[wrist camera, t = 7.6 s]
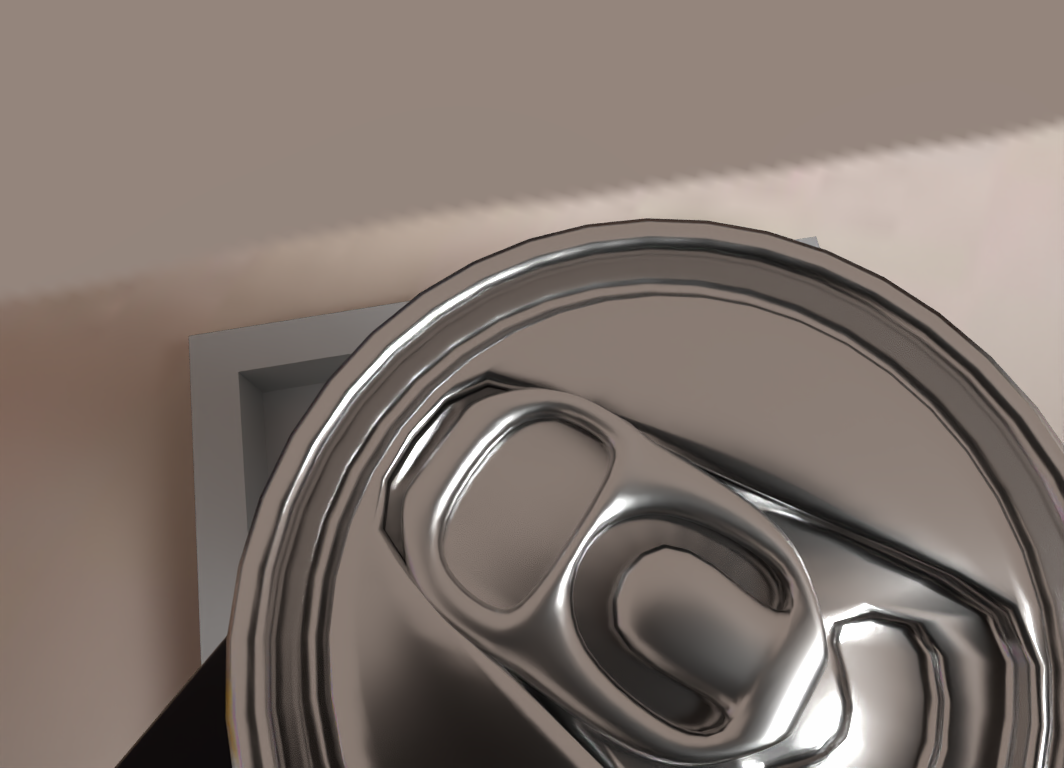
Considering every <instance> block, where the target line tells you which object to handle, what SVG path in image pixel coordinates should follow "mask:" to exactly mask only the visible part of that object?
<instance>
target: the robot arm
mask: <svg viewBox="0 0 1064 768" xmlns="http://www.w3.org/2000/svg"><path fill="white" fill-rule="evenodd" d="M226 639H227V636H226V637H225V638H224V639H223V640H222V642H221V643H220V644H219V645H218V646H217V647H216V649H215V650H214V651H213V652H212V653H211V655H210V656H209V657H208V658H207V659H206V660H205V662H204V663H203V664H202V665H201V666H200V668H199V669H198V670H197V671H196V672H195V673H194V675H193V676H192V677H191V678H190V679H189V680H188V682H187V683H186V684H185V685H184V686H183V688H182V689H181V690H180V691H179V692H178V693H177V695H176V696H175V697H174V698H173V699H172V701H171V702H170V703H169V704H168V705H167V706H166V708H165V709H164V710H163V711H162V712H161V714H160V715H159V716H158V717H157V718H156V719H155V721H154V722H153V723H152V724H151V725H150V726H149V728H148V729H147V730H146V731H145V732H144V734H143V735H142V736H141V737H140V738H139V739H138V741H137V742H136V743H135V744H134V745H133V747H132V748H131V749H130V750H129V751H128V752H127V754H126V755H125V756H124V757H123V758H122V760H121V761H120V762H119V763H118V764H117V765H116V767H115V768H232V761H231V754H230V747H229V740H228V732H227V725H226Z"/></svg>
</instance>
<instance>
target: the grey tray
mask: <svg viewBox="0 0 1064 768" xmlns="http://www.w3.org/2000/svg"><path fill="white" fill-rule="evenodd" d="M796 241H799V242H803V243H806V244H809V245H812V246H815V247H818V248H820V247H819V244H818V241H817V238H816V237H810V238H803V239H797V240H796ZM408 302H409V301H406V302H400V303H394V304H387V305H381V306H375V307H368V308H362V309H356V310H349V311H343V312H337V313H330V314H324V315H318V316H312V317H305V318H299V319H293V320H286V321H280V322H274V323H267V324H261V325H255V326H249V327H242V328H236V329H230V330H223V331H217V332H211V333H204V334H198V335H192V336H189V357H190V383H191V409H192V436H193V462H194V488H195V514H196V541H197V567H198V593H199V620H200V646H201V665H202V664H203V663H204V662H205V660H206V659H207V658H208V657H209V656H210V655H211V653H212V652H213V651H214V650H215V649H216V647H217V646H218V645H219V644H220V643H221V642H222V640H223V639H224V638H225V637H226V636H227V633H228V626H229V620H230V614H231V607H232V601H233V595H234V589H235V582H236V576H237V570H238V565H239V561H240V558H241V555H242V552H243V549H244V546H245V542H246V539H247V536H248V533H249V530H250V526H251V523H252V520H253V517H254V514H255V511H256V507H257V504H258V501H259V498H260V495H261V493H262V491H263V489H264V487H265V485H266V483H267V481H268V479H269V477H270V475H271V473H272V471H273V469H274V467H275V465H276V463H277V460H278V458H279V456H280V454H281V452H282V450H283V448H284V446H285V444H286V442H287V440H288V438H289V436H290V434H291V433H292V431H293V430H294V428H295V427H296V425H297V424H298V422H299V421H300V419H301V418H302V416H303V415H304V413H305V412H306V410H307V409H308V408H309V406H310V405H311V403H312V402H313V400H314V399H315V397H316V396H317V394H318V393H319V391H320V390H321V388H322V387H323V386H324V384H325V383H326V381H327V380H328V379H329V378H330V376H331V375H332V374H333V373H334V372H335V371H336V370H337V369H338V368H339V367H340V366H341V365H342V363H343V362H344V361H345V360H346V359H347V358H348V357H349V356H350V355H351V354H352V353H353V352H354V350H355V349H356V348H357V347H358V346H359V345H360V344H361V343H362V342H363V341H364V340H365V339H366V337H367V336H368V335H369V334H370V333H371V332H372V331H374V330H375V329H376V328H377V327H378V326H380V325H381V324H382V323H383V322H385V321H386V320H387V319H388V318H390V317H391V316H392V315H393V314H395V313H396V312H397V311H398V310H400V309H401V308H402V307H403V306H405V305H406V304H407V303H408Z"/></svg>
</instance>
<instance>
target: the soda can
mask: <svg viewBox="0 0 1064 768" xmlns="http://www.w3.org/2000/svg"><path fill="white" fill-rule="evenodd" d="M226 725H227V732H228V740H229V747H230V754H231V761H232V768H1064V445H1063V444H1062V442H1061V441H1060V439H1059V438H1058V436H1057V435H1056V434H1055V432H1054V431H1053V429H1052V428H1051V426H1050V425H1049V423H1048V422H1047V421H1046V419H1045V418H1044V416H1043V415H1042V413H1041V412H1040V411H1039V409H1038V408H1037V407H1036V406H1035V404H1034V403H1033V402H1032V401H1031V400H1030V399H1029V398H1028V397H1027V396H1026V395H1025V393H1024V392H1023V391H1022V390H1021V389H1020V388H1019V387H1018V386H1017V385H1016V384H1015V382H1014V381H1013V380H1012V379H1011V378H1010V377H1009V376H1008V375H1007V374H1006V373H1005V371H1004V370H1003V369H1002V368H1001V367H1000V366H999V365H998V364H997V363H996V362H995V360H994V359H993V358H992V357H991V356H990V355H989V354H987V353H986V352H985V351H984V350H983V349H981V348H980V347H979V346H978V345H977V344H976V343H974V342H973V341H972V340H971V339H970V338H968V337H967V336H966V335H965V334H964V333H963V332H961V331H960V330H959V329H958V328H957V327H955V326H954V325H953V324H952V323H951V322H950V321H948V320H947V319H946V318H945V317H944V316H942V315H941V314H940V313H939V312H937V311H936V310H934V309H933V308H931V307H929V306H928V305H926V304H925V303H923V302H922V301H920V300H919V299H917V298H916V297H914V296H912V295H911V294H909V293H908V292H906V291H905V290H903V289H902V288H900V287H898V286H897V285H895V284H894V283H892V282H891V281H889V280H888V279H886V278H885V277H882V276H880V275H878V274H876V273H874V272H872V271H870V270H868V269H865V268H863V267H861V266H859V265H857V264H855V263H853V262H851V261H849V260H846V259H844V258H842V257H840V256H838V255H836V254H834V253H832V252H829V251H827V250H824V249H821V248H818V247H815V246H812V245H809V244H806V243H803V242H799V241H796V240H793V239H790V238H787V237H784V236H781V235H778V234H774V233H771V232H768V231H763V230H757V229H752V228H746V227H740V226H735V225H729V224H723V223H717V222H712V221H702V220H675V219H649V218H646V219H636V220H627V221H617V222H607V223H597V224H588V225H583V226H579V227H575V228H571V229H567V230H563V231H559V232H555V233H551V234H547V235H543V236H539V237H535V238H531V239H528V240H525V241H523V242H520V243H518V244H515V245H513V246H511V247H508V248H506V249H503V250H501V251H498V252H496V253H493V254H491V255H488V256H486V257H484V258H481V259H479V260H476V261H474V262H472V263H470V264H468V265H467V266H465V267H463V268H462V269H460V270H458V271H457V272H455V273H453V274H451V275H450V276H448V277H446V278H445V279H443V280H441V281H440V282H438V283H436V284H434V285H433V286H431V287H429V288H428V289H426V290H424V291H423V292H421V293H419V294H418V295H417V296H416V297H414V298H413V299H412V300H411V301H409V302H408V303H407V304H406V305H405V306H403V307H402V308H401V309H400V310H398V311H397V312H396V313H395V314H393V315H392V316H391V317H390V318H388V319H387V320H386V321H385V322H383V323H382V324H381V325H380V326H378V327H377V328H376V329H375V330H374V331H372V332H371V333H370V334H369V335H368V336H367V337H366V339H365V340H364V341H363V342H362V343H361V344H360V345H359V346H358V347H357V348H356V349H355V350H354V352H353V353H352V354H351V355H350V356H349V357H348V358H347V359H346V360H345V361H344V362H343V363H342V365H341V366H340V367H339V368H338V369H337V370H336V371H335V372H334V373H333V374H332V375H331V376H330V378H329V379H328V380H327V381H326V383H325V384H324V386H323V387H322V388H321V390H320V391H319V393H318V394H317V396H316V397H315V399H314V400H313V402H312V403H311V405H310V406H309V408H308V409H307V410H306V412H305V413H304V415H303V416H302V418H301V419H300V421H299V422H298V424H297V425H296V427H295V428H294V430H293V431H292V433H291V434H290V436H289V438H288V440H287V442H286V444H285V446H284V448H283V450H282V452H281V454H280V456H279V458H278V460H277V463H276V465H275V467H274V469H273V471H272V473H271V475H270V477H269V479H268V481H267V483H266V485H265V487H264V489H263V491H262V493H261V495H260V498H259V501H258V504H257V507H256V511H255V514H254V517H253V520H252V523H251V526H250V530H249V533H248V536H247V539H246V542H245V546H244V549H243V552H242V555H241V558H240V561H239V565H238V570H237V576H236V582H235V589H234V595H233V601H232V607H231V614H230V620H229V626H228V633H227V639H226Z"/></svg>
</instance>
